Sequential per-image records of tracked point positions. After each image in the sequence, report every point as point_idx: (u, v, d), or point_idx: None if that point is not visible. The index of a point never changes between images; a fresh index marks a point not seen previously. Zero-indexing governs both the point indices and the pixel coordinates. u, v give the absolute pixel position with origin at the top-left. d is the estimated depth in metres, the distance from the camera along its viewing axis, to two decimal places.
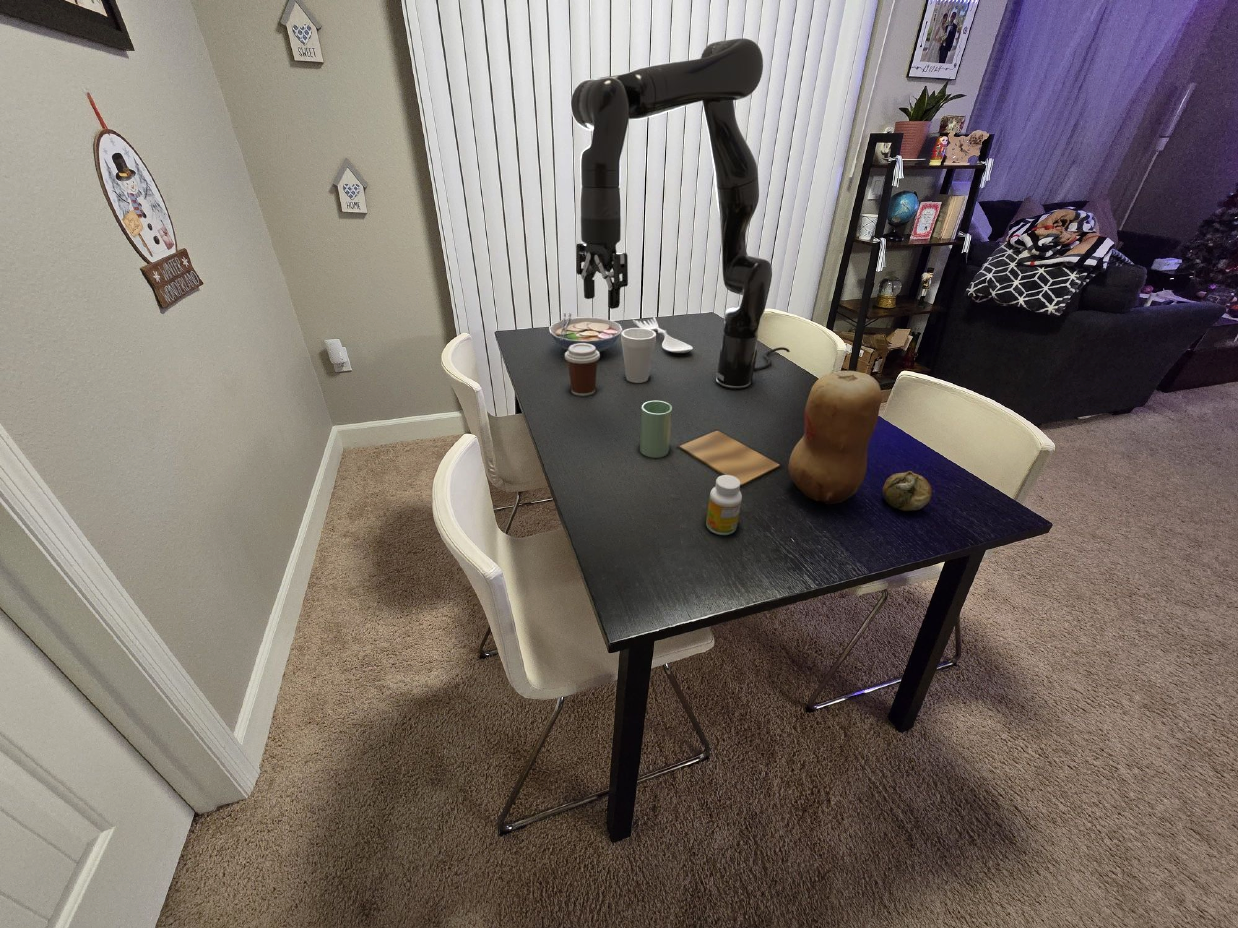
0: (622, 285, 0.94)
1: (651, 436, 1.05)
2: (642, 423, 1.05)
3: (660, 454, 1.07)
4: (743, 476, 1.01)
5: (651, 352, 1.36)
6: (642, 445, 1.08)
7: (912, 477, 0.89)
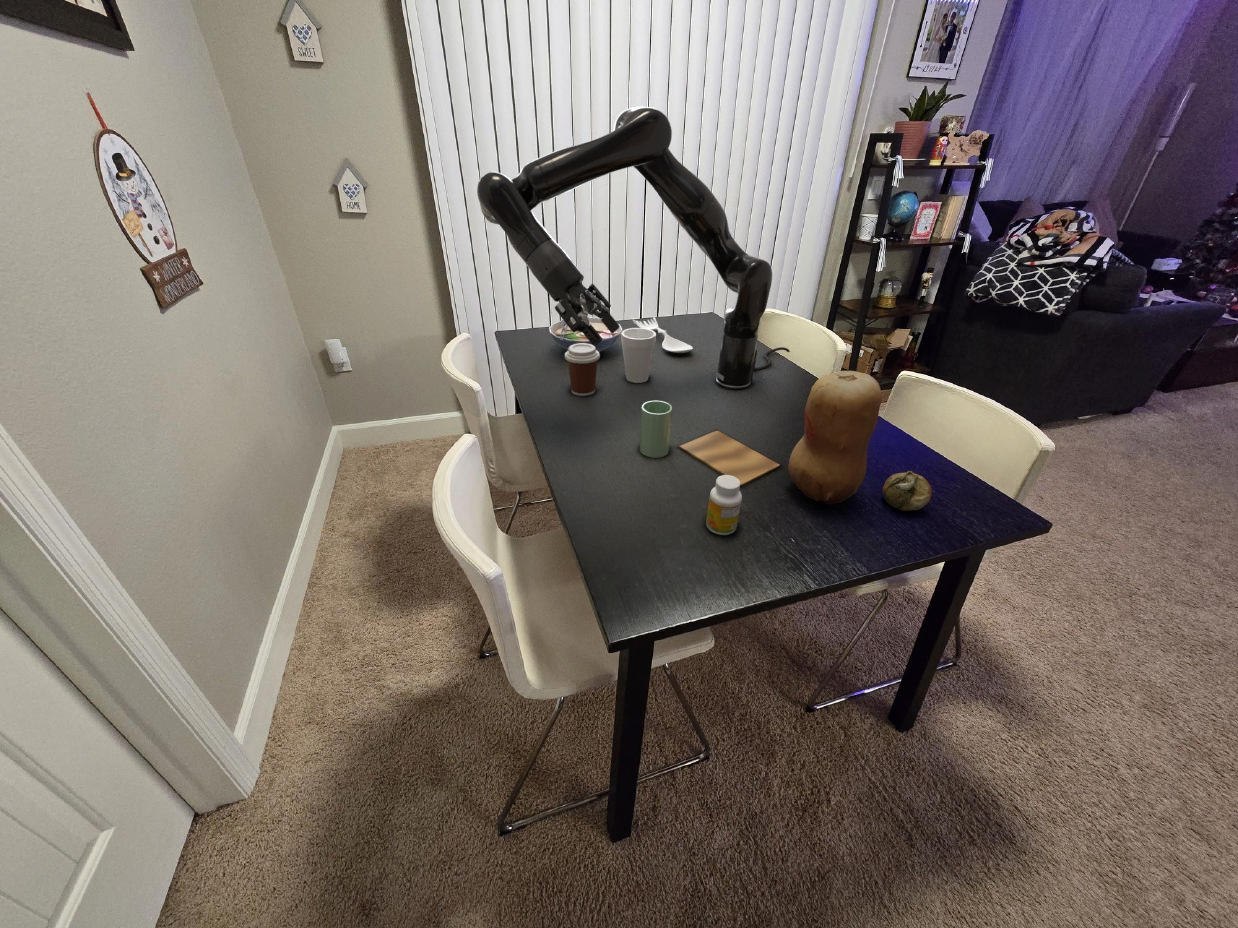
0: (576, 327, 0.94)
1: (651, 436, 1.05)
2: (642, 423, 1.05)
3: (660, 454, 1.07)
4: (743, 476, 1.01)
5: (651, 352, 1.36)
6: (642, 445, 1.08)
7: (912, 477, 0.89)
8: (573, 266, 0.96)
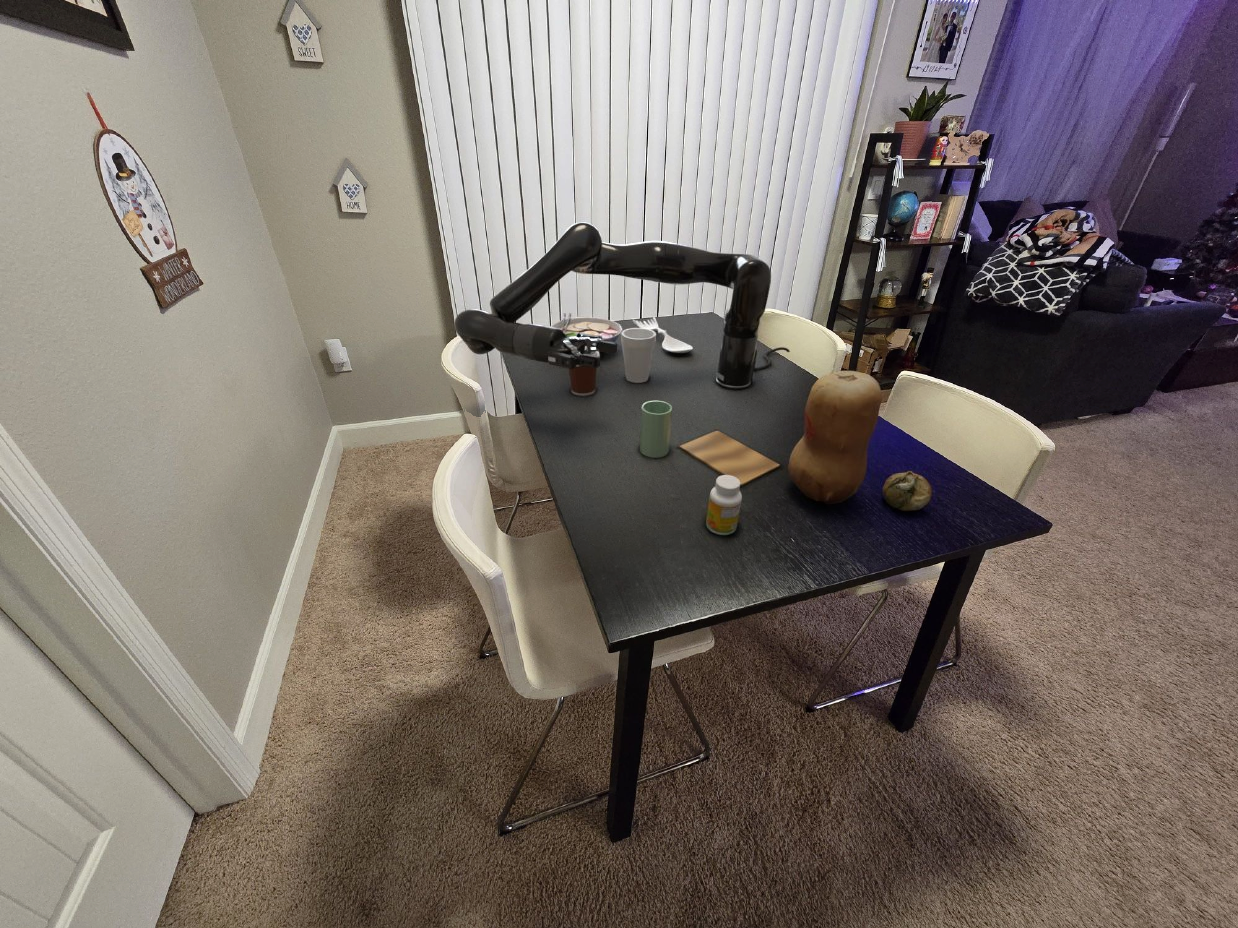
0: (571, 363, 0.99)
1: (651, 436, 1.05)
2: (642, 423, 1.05)
3: (660, 454, 1.07)
4: (743, 476, 1.01)
5: (651, 352, 1.36)
6: (642, 445, 1.08)
7: (912, 477, 0.89)
8: (546, 327, 1.05)
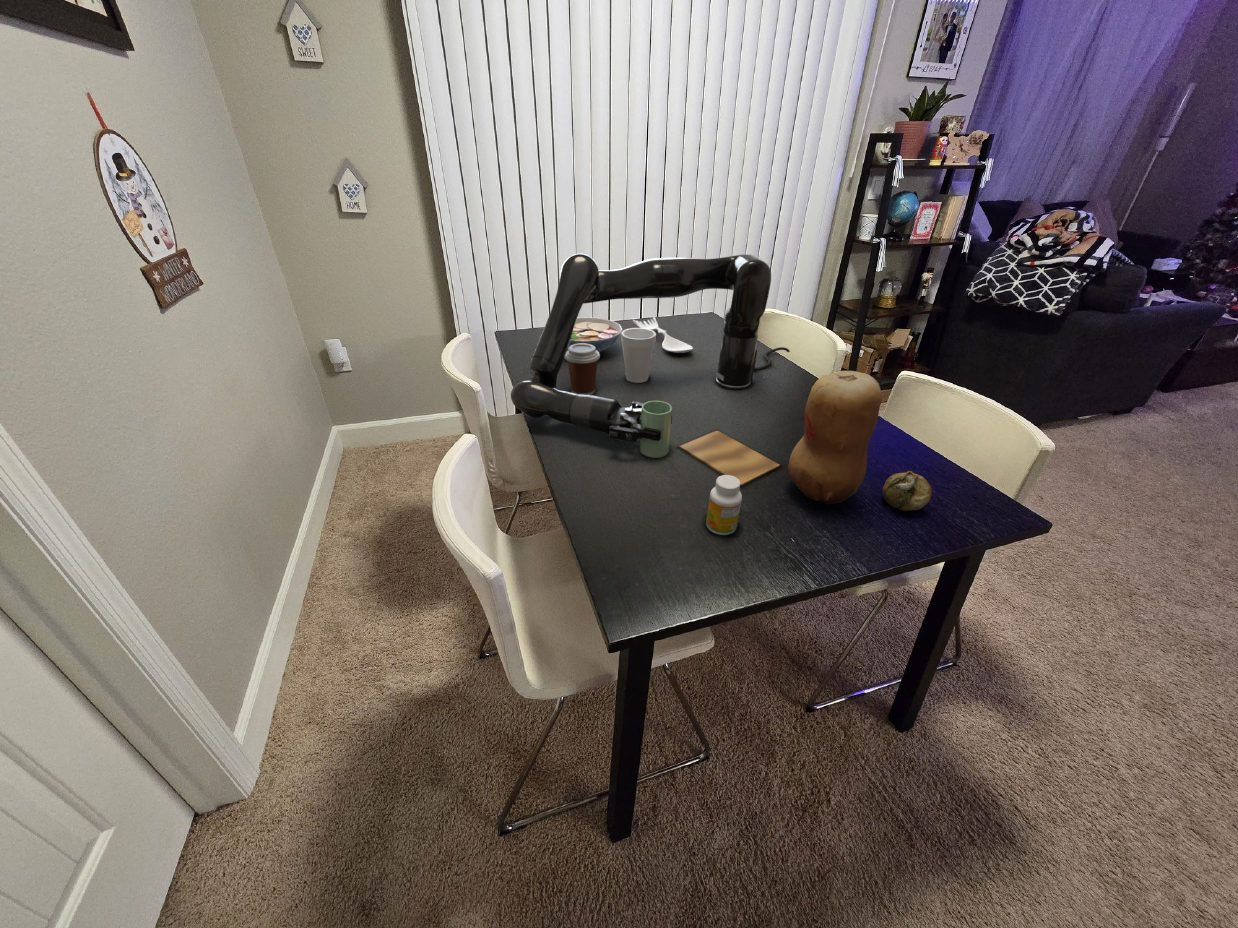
0: (633, 437, 1.03)
1: None
2: (642, 423, 1.05)
3: (660, 454, 1.07)
4: (743, 476, 1.01)
5: (651, 352, 1.36)
6: (642, 445, 1.08)
7: (912, 477, 0.89)
8: (603, 399, 1.09)
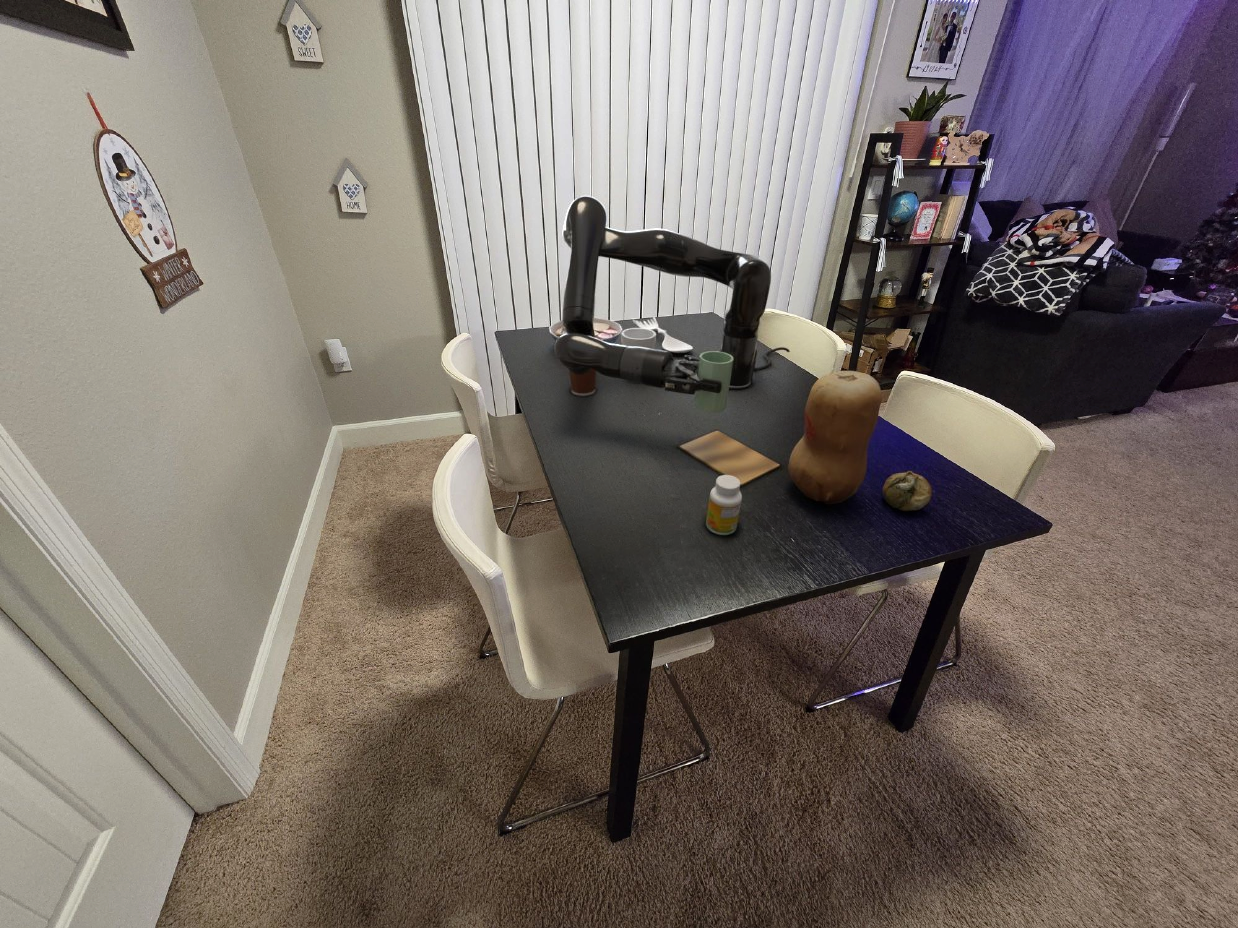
0: (692, 388, 0.95)
1: None
2: (700, 375, 0.97)
3: (718, 409, 0.99)
4: (743, 476, 1.01)
5: None
6: (698, 399, 1.00)
7: (912, 477, 0.89)
8: (656, 350, 1.01)
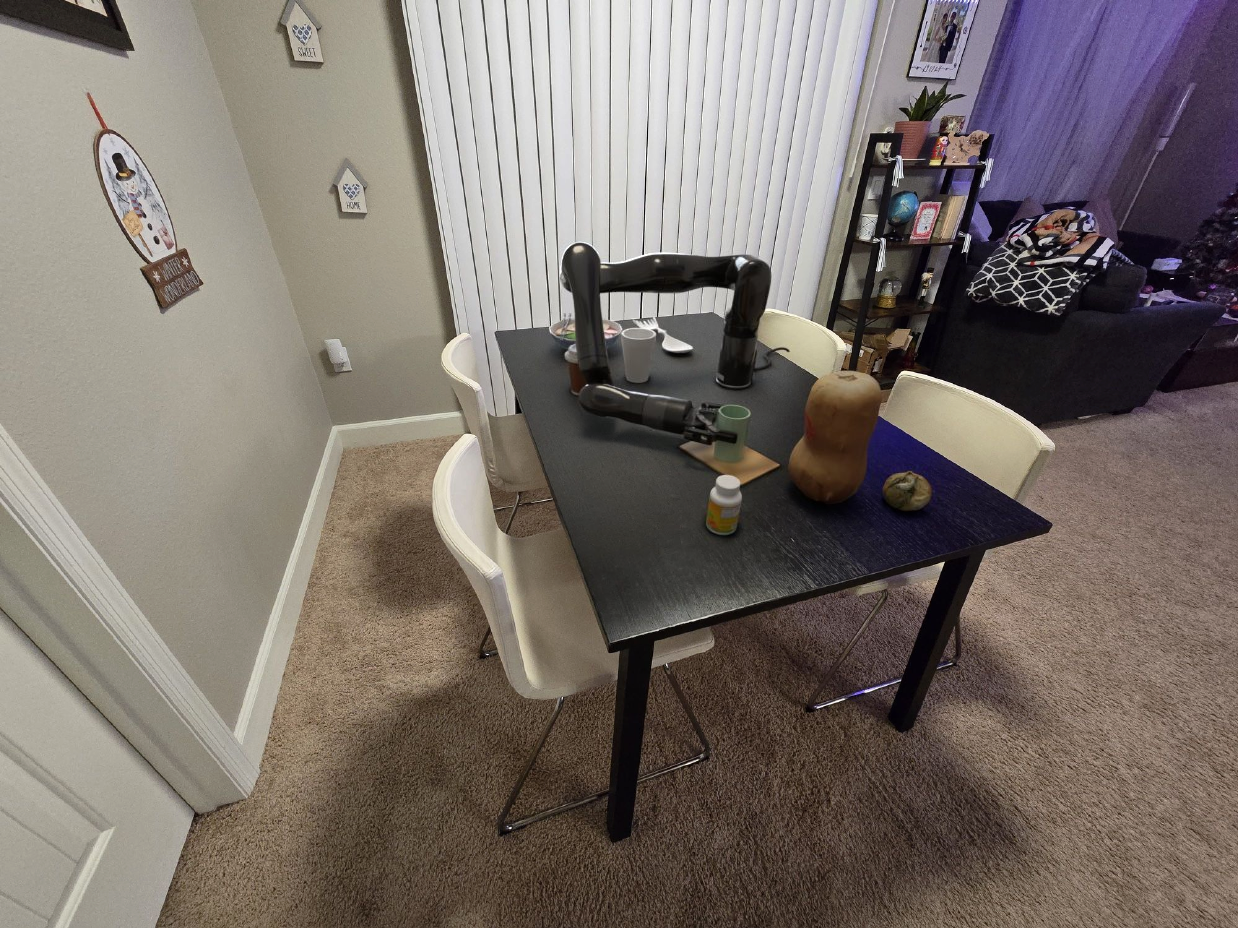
0: (709, 440, 1.00)
1: None
2: (719, 428, 1.03)
3: (736, 459, 1.05)
4: (743, 476, 1.01)
5: (651, 352, 1.36)
6: (717, 450, 1.05)
7: (912, 477, 0.89)
8: (677, 400, 1.06)
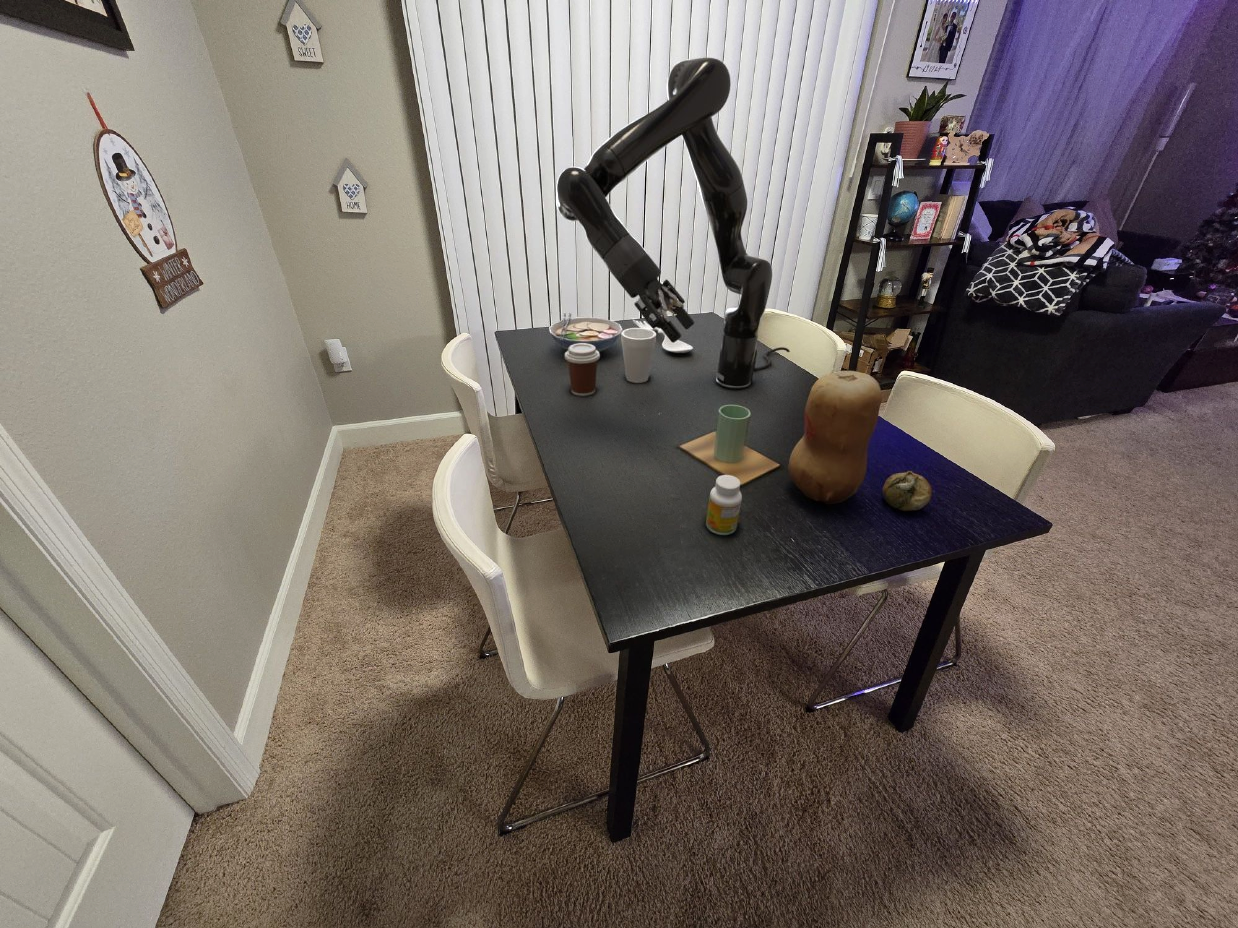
0: (656, 323, 0.93)
1: (728, 441, 1.02)
2: (719, 428, 1.03)
3: (736, 459, 1.05)
4: (743, 476, 1.01)
5: (651, 352, 1.36)
6: (717, 450, 1.05)
7: (912, 477, 0.89)
8: (651, 261, 0.94)
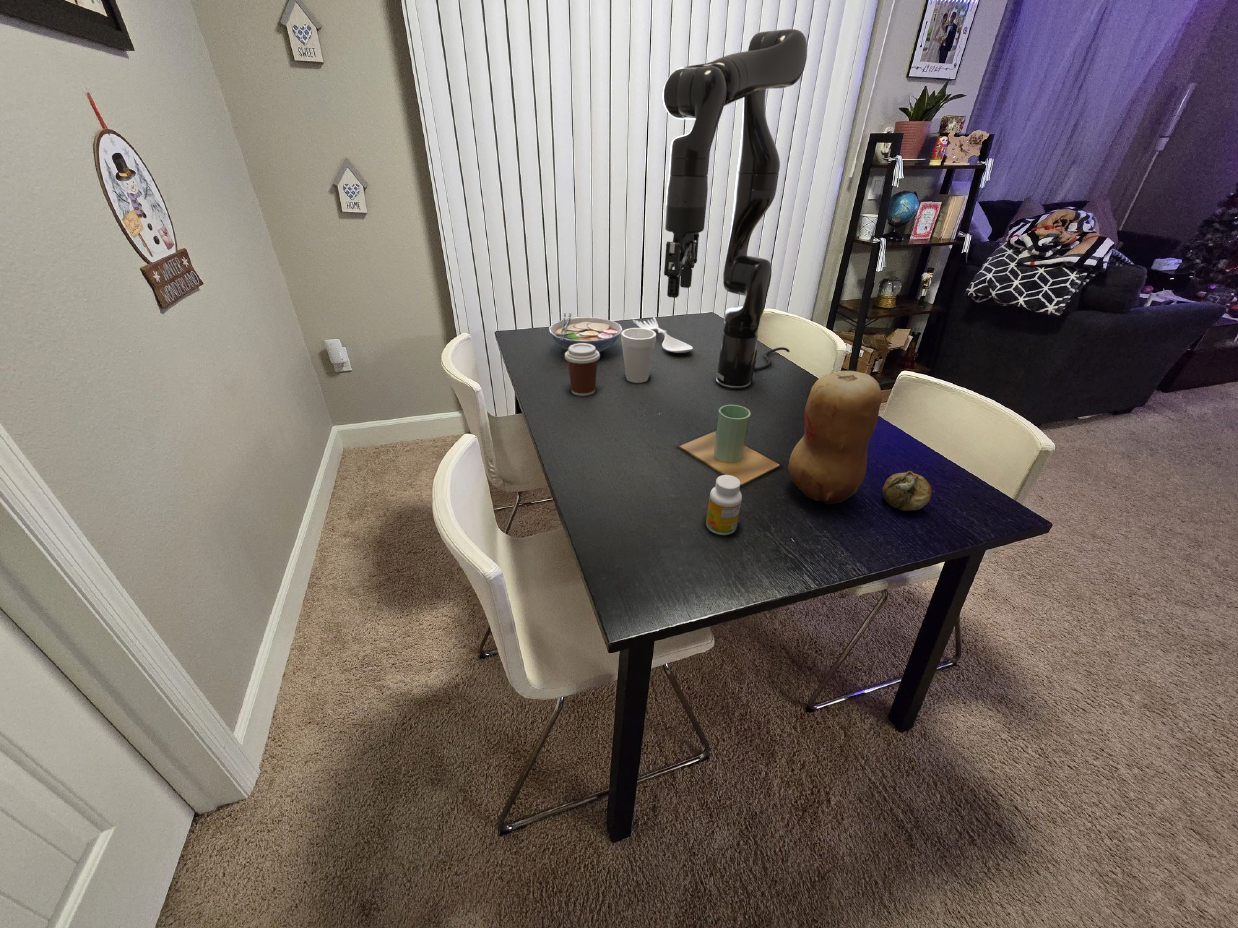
0: (670, 274, 0.94)
1: (728, 441, 1.02)
2: (719, 428, 1.03)
3: (736, 459, 1.05)
4: (743, 476, 1.01)
5: (651, 352, 1.36)
6: (717, 450, 1.05)
7: (912, 477, 0.89)
8: (704, 216, 0.93)
